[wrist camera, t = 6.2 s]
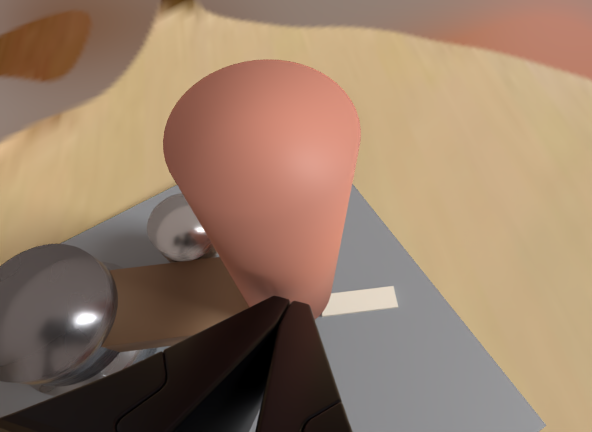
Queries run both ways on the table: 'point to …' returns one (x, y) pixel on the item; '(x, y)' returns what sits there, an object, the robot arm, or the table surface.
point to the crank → (214, 220)
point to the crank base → (338, 326)
